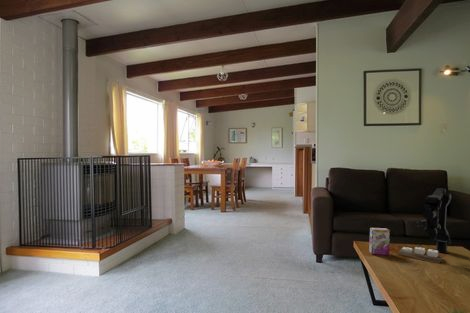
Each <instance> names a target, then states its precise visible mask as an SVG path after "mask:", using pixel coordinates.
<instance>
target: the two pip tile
mask: <svg viewBox="0 0 470 313" xmlns="http://www.w3.org/2000/svg"><path fill="white" fill-rule="evenodd" d="M413 250H414V253H416V254H421V255H424V254H425V252H426V248H425V247H420V246H415V247H414V249H413Z"/></svg>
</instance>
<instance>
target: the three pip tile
mask: <svg viewBox="0 0 470 313" xmlns="http://www.w3.org/2000/svg"><path fill="white" fill-rule="evenodd" d="M401 248H402V251H404V252H409V253H412V250H413V247H412V248H411V247H407V246H403V247H401Z"/></svg>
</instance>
